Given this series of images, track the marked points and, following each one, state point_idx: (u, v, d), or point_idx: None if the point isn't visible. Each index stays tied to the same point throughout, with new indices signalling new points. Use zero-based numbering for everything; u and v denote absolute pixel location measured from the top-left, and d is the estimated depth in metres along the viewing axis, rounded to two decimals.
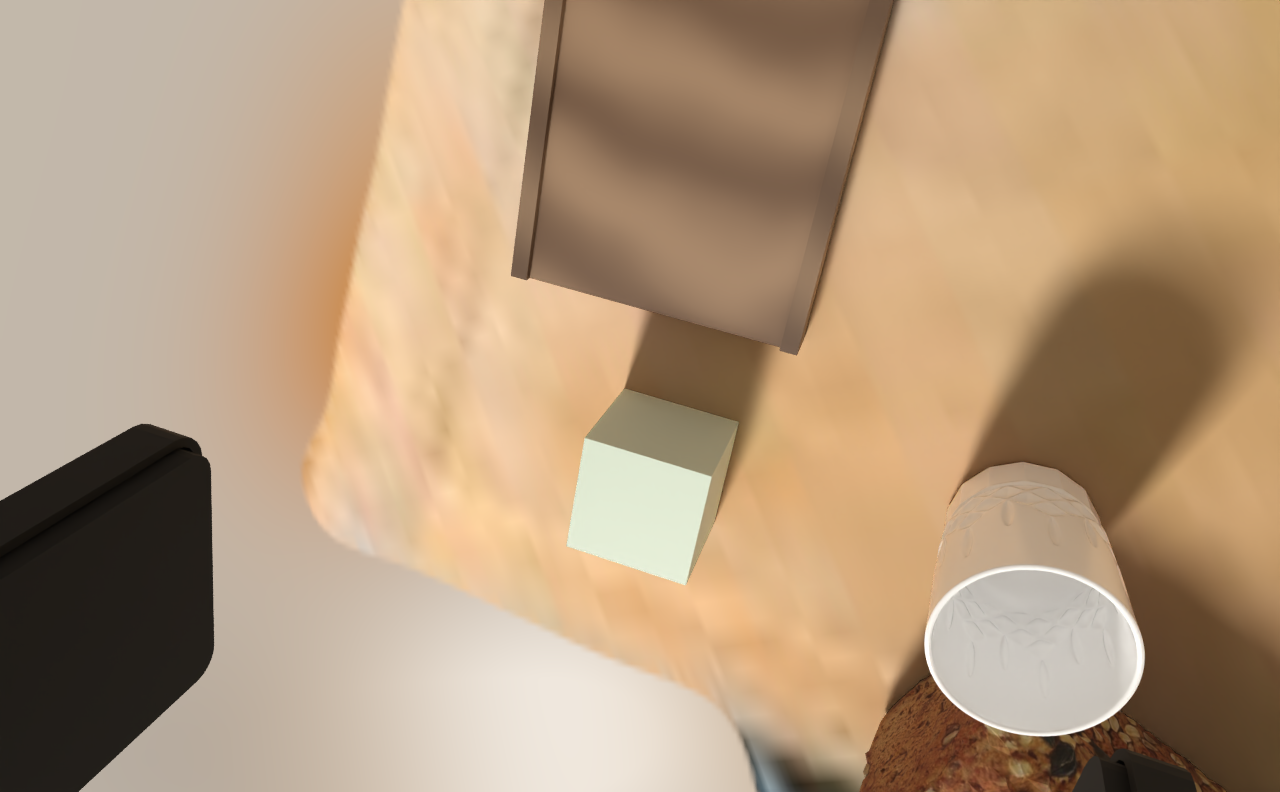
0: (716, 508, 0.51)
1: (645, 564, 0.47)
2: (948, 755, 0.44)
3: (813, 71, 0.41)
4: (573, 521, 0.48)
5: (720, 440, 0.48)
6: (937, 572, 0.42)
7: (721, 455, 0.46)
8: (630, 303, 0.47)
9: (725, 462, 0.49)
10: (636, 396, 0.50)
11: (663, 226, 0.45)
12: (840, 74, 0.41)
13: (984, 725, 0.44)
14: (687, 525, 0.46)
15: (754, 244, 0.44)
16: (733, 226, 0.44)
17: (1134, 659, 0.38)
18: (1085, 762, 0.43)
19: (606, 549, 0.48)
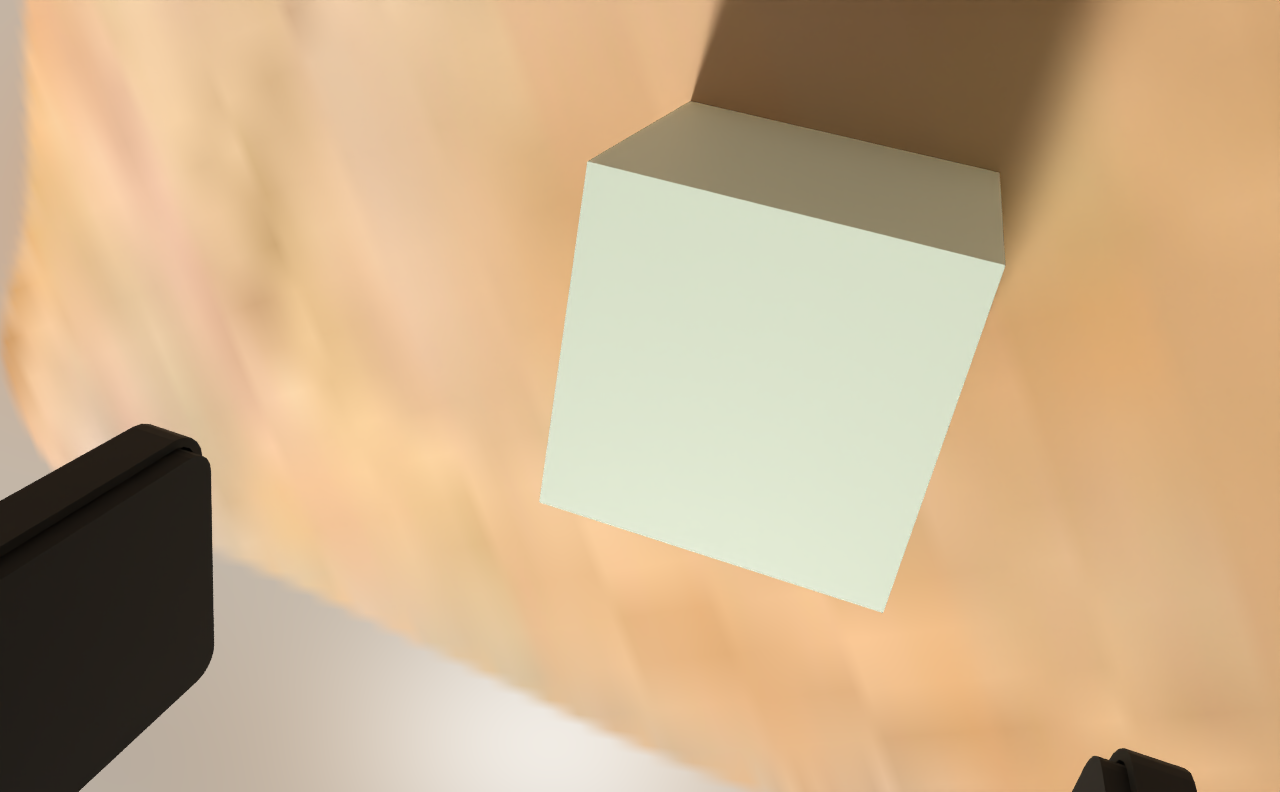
0: None
1: (764, 552, 0.16)
2: None
3: None
4: (558, 430, 0.17)
5: (976, 197, 0.17)
6: None
7: (999, 225, 0.15)
8: None
9: None
10: (724, 113, 0.19)
11: None
12: None
13: None
14: (905, 432, 0.15)
15: None
16: None
17: None
18: None
19: (651, 510, 0.17)
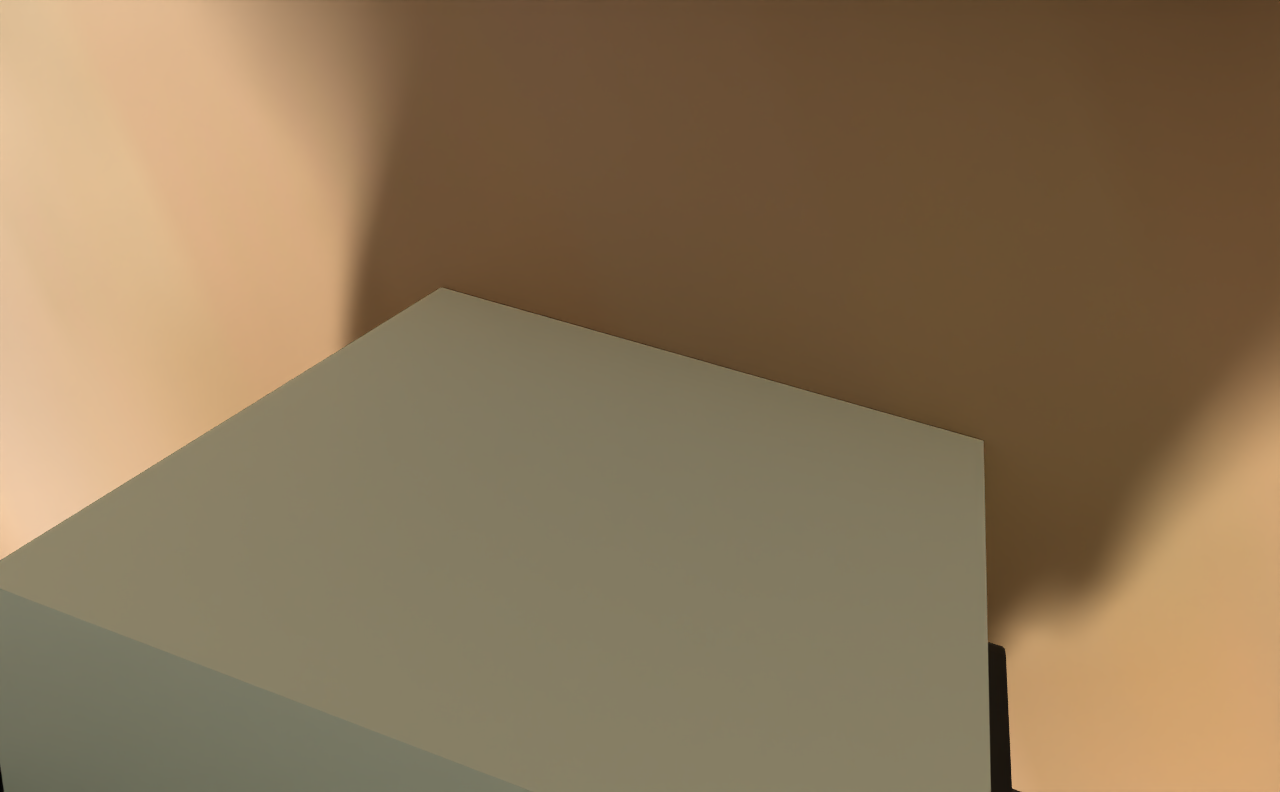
0: None
1: None
2: None
3: None
4: None
5: (934, 558, 0.08)
6: None
7: (981, 683, 0.07)
8: None
9: None
10: (487, 320, 0.11)
11: None
12: None
13: None
14: None
15: None
16: None
17: None
18: None
19: None
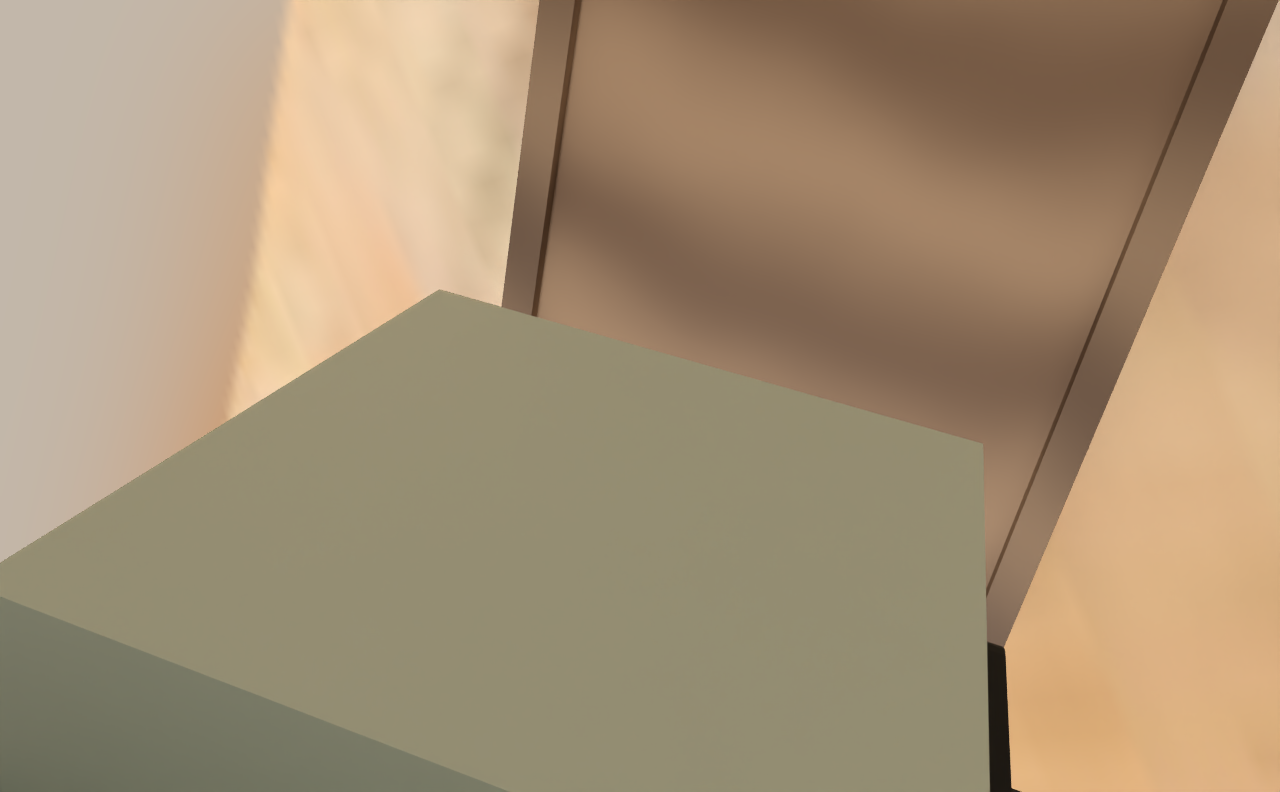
0: None
1: None
2: None
3: (1071, 168, 0.21)
4: None
5: (934, 562, 0.08)
6: None
7: (980, 689, 0.07)
8: None
9: None
10: (484, 322, 0.11)
11: None
12: (1128, 176, 0.20)
13: None
14: None
15: None
16: None
17: None
18: None
19: None
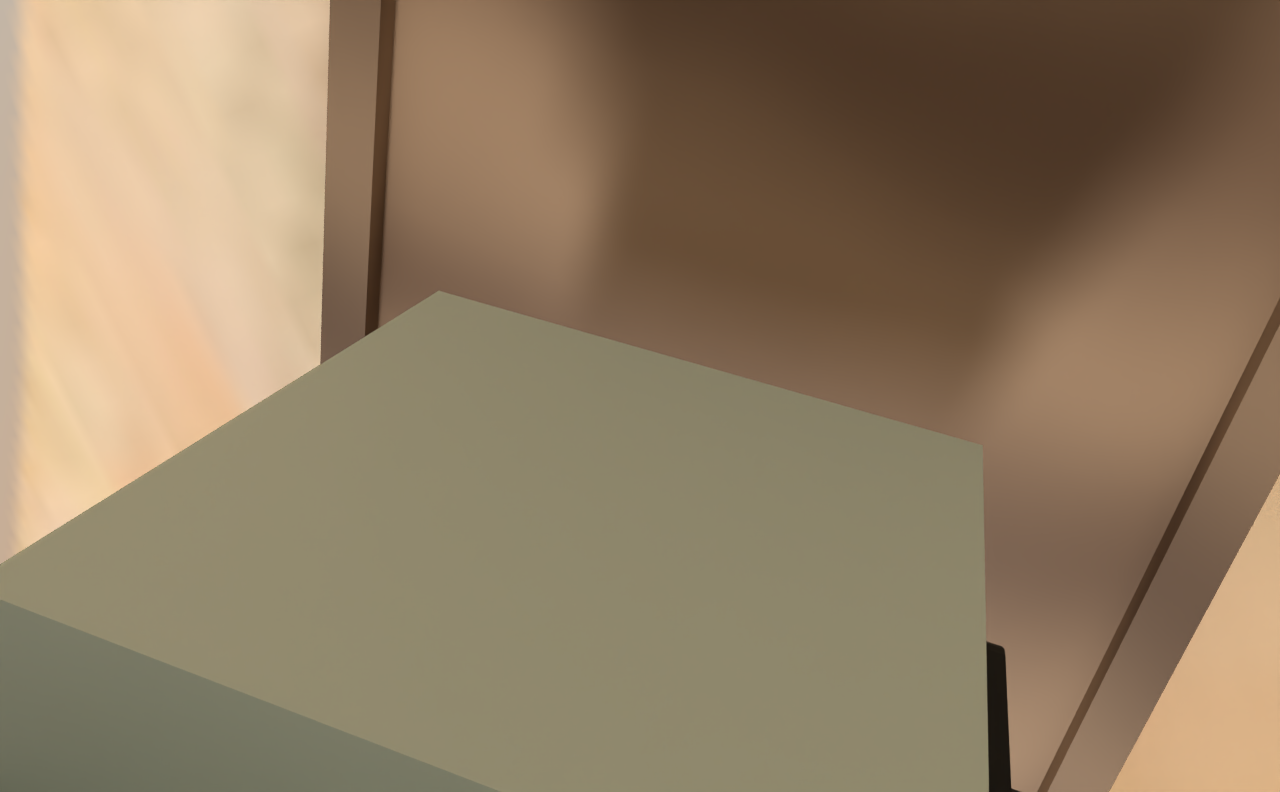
0: None
1: None
2: None
3: (1159, 253, 0.13)
4: None
5: (933, 564, 0.08)
6: None
7: (980, 691, 0.07)
8: None
9: None
10: (484, 324, 0.11)
11: None
12: (1254, 267, 0.13)
13: None
14: None
15: None
16: None
17: None
18: None
19: None
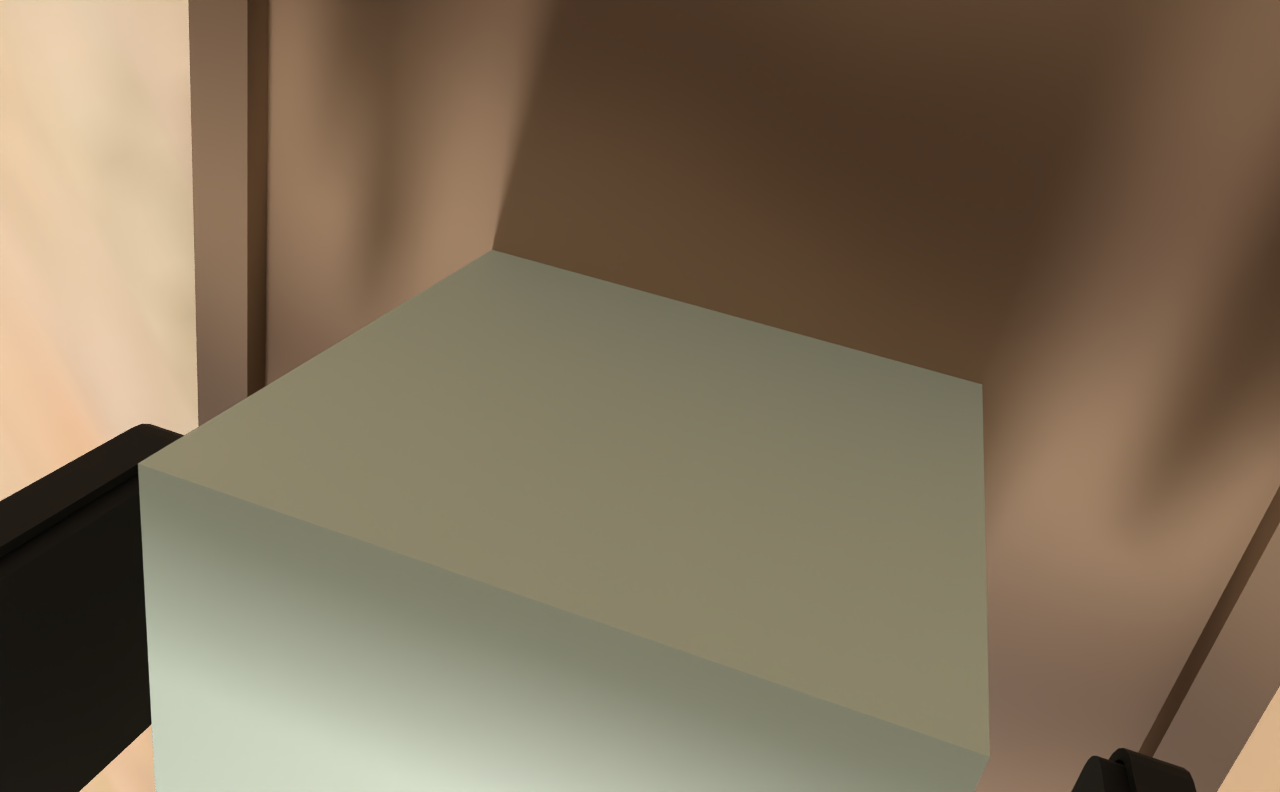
0: None
1: None
2: None
3: (1173, 355, 0.11)
4: None
5: (939, 473, 0.09)
6: None
7: (980, 566, 0.08)
8: None
9: None
10: (535, 277, 0.12)
11: None
12: None
13: None
14: None
15: None
16: None
17: None
18: None
19: None
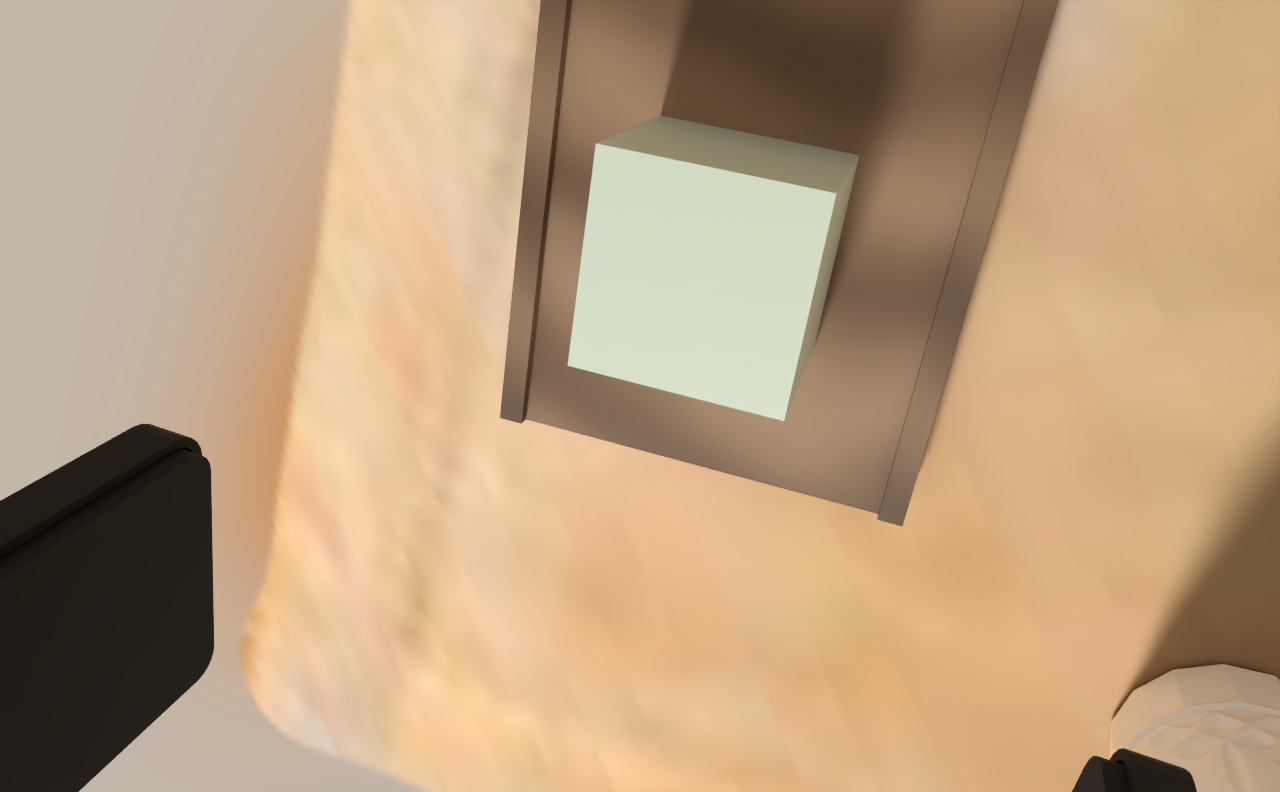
0: (820, 316, 0.30)
1: (709, 387, 0.26)
2: None
3: (927, 135, 0.28)
4: (579, 315, 0.27)
5: (836, 166, 0.27)
6: None
7: (844, 178, 0.26)
8: (665, 453, 0.34)
9: (841, 217, 0.28)
10: (681, 122, 0.30)
11: None
12: (967, 139, 0.28)
13: None
14: (789, 300, 0.25)
15: (840, 375, 0.32)
16: None
17: None
18: None
19: (638, 364, 0.27)
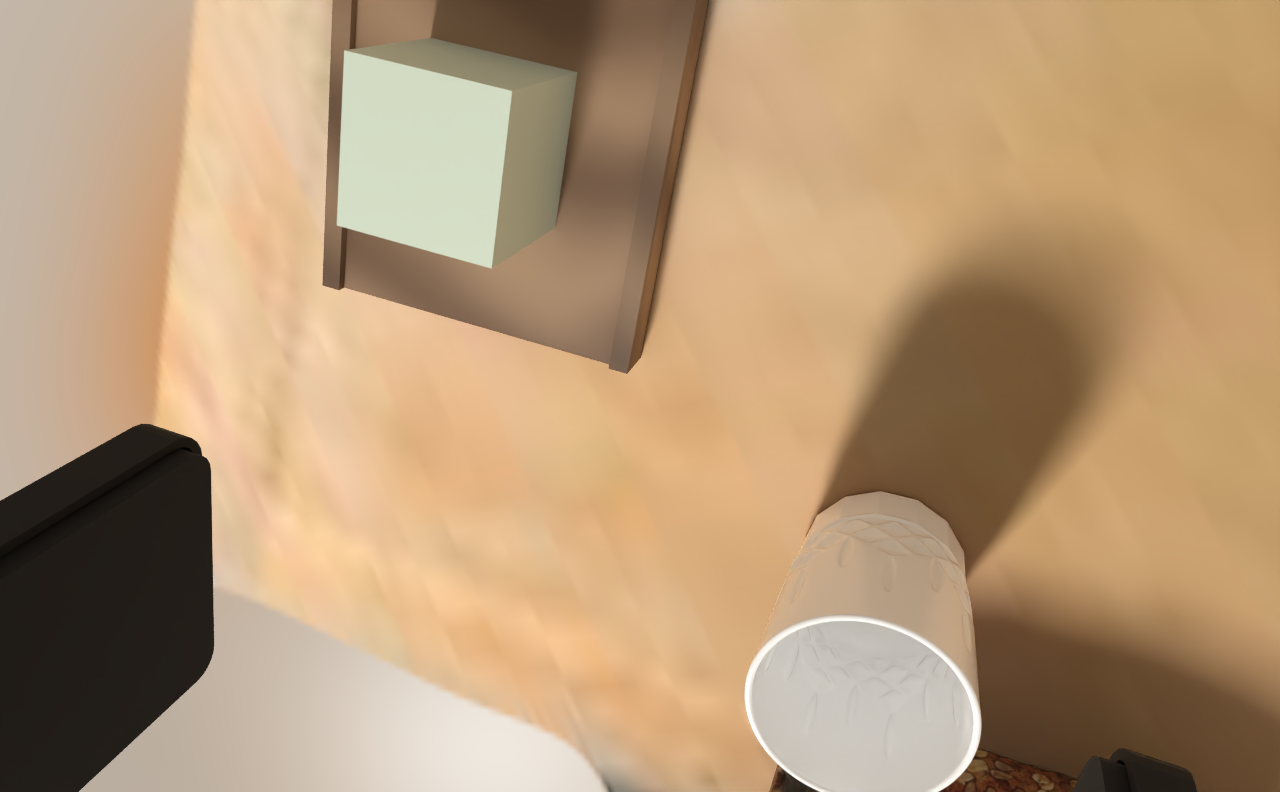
0: (552, 200, 0.39)
1: (438, 242, 0.35)
2: None
3: (625, 57, 0.37)
4: (342, 185, 0.35)
5: (541, 76, 0.35)
6: (769, 617, 0.38)
7: (536, 83, 0.34)
8: (450, 315, 0.43)
9: (554, 119, 0.36)
10: (443, 43, 0.38)
11: None
12: (654, 60, 0.36)
13: None
14: (487, 173, 0.33)
15: (576, 250, 0.40)
16: (552, 231, 0.40)
17: (972, 721, 0.34)
18: None
19: (387, 224, 0.35)
